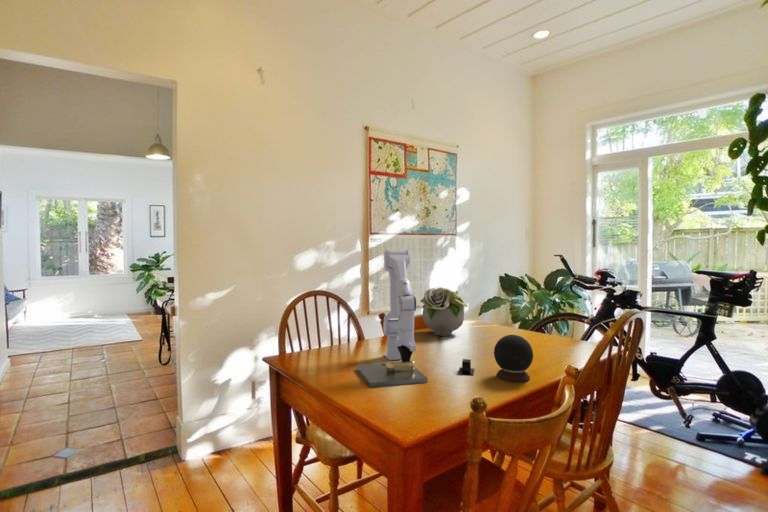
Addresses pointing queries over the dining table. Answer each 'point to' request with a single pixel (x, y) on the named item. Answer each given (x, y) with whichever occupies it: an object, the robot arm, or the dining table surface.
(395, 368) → the lever
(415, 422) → the dining table surface
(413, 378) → the lock plate
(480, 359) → the dining table surface
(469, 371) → the black block on base
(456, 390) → the dining table surface
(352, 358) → the dining table surface
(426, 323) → the flower arrangement
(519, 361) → the spherical smart speaker
